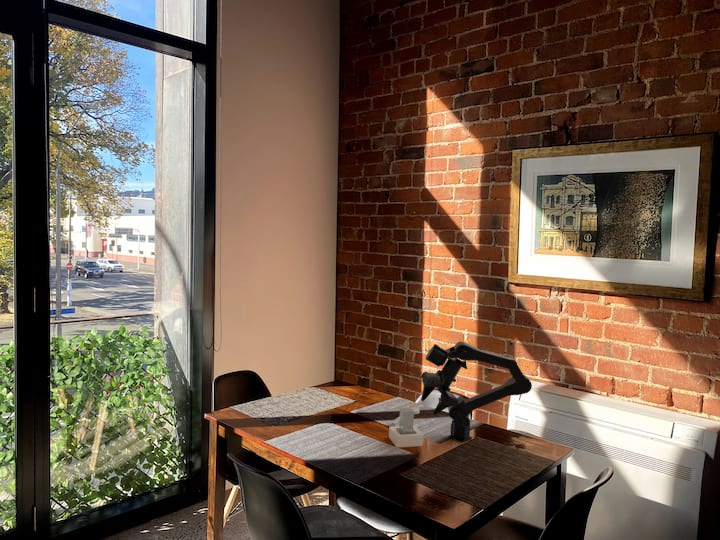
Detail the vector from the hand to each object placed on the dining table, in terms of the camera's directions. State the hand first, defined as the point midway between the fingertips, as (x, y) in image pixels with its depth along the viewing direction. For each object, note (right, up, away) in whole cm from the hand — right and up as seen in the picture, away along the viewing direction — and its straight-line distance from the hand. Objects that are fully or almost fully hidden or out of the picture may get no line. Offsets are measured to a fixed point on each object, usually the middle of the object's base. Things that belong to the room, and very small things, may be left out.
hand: (428, 407), depth 219 cm
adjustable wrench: (-8, -10, +20) cm, 24 cm away
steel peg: (-9, -11, -6) cm, 15 cm away
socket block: (-9, -11, -6) cm, 15 cm away
